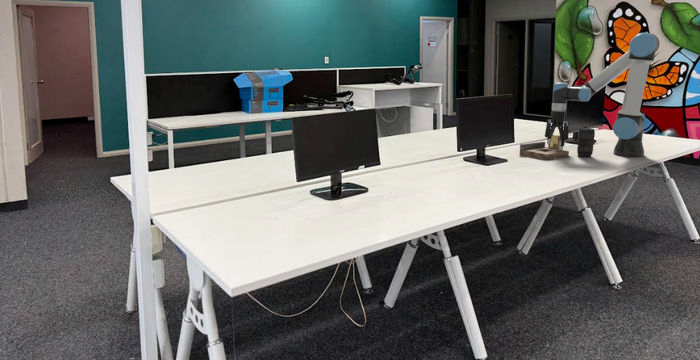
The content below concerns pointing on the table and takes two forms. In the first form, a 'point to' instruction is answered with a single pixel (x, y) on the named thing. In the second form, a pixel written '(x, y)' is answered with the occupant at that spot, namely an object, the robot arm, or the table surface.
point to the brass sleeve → (555, 141)
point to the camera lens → (585, 142)
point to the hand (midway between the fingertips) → (555, 150)
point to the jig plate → (541, 151)
